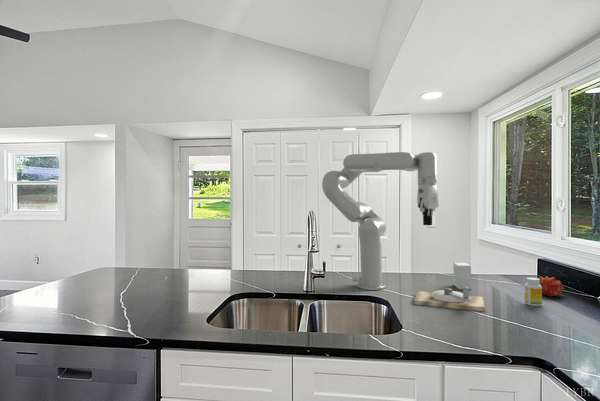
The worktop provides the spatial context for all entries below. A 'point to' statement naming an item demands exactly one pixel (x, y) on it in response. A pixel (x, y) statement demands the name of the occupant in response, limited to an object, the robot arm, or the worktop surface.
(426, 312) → the worktop surface
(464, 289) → the dial
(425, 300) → the stand base
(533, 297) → the supplement bottle
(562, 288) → the dragon fruit
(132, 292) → the worktop surface
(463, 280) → the small box
